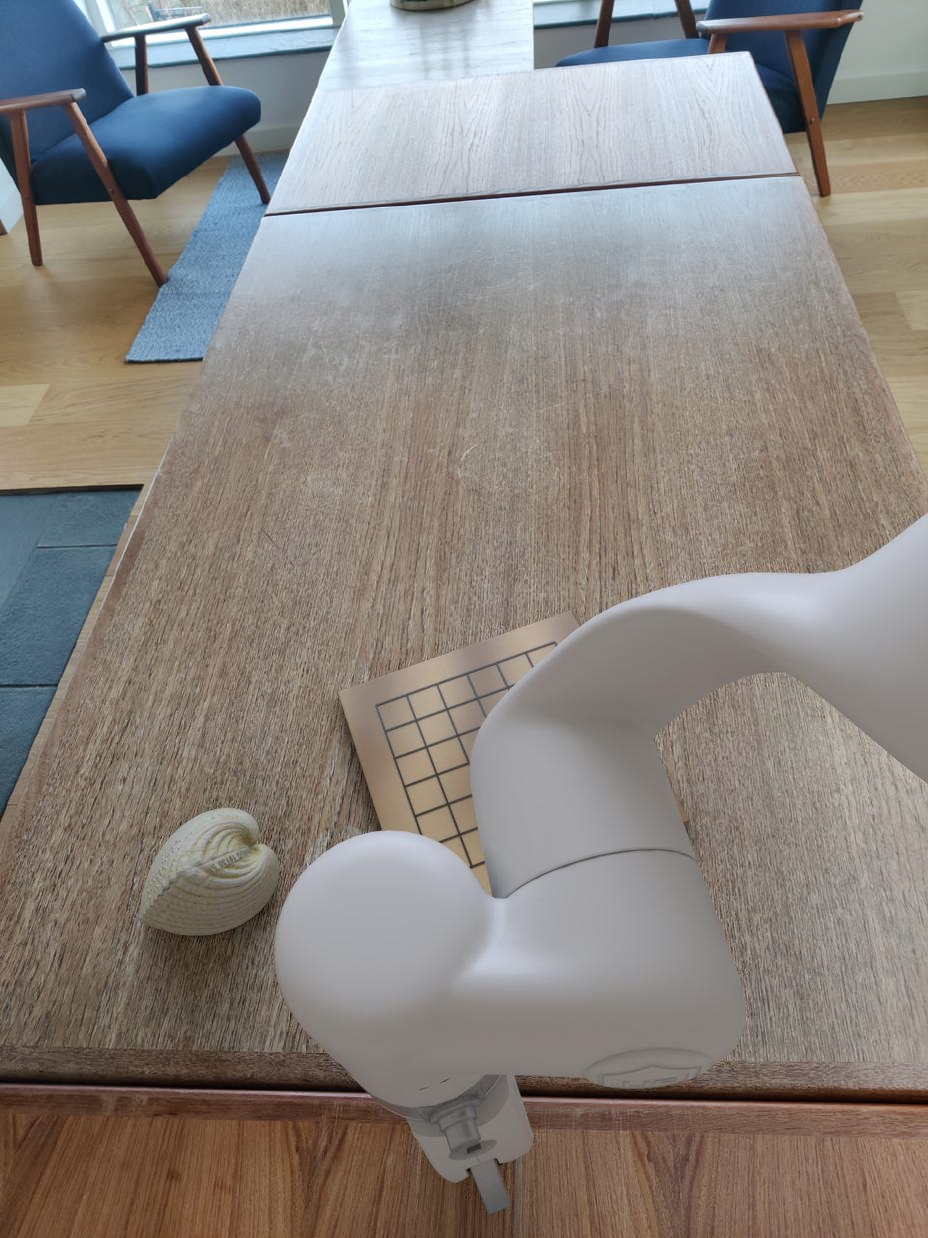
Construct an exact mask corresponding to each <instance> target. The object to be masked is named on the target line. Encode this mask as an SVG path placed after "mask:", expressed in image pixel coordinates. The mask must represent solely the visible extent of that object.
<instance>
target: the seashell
mask: <svg viewBox="0 0 928 1238" xmlns="http://www.w3.org/2000/svg"><path fill="white" fill-rule="evenodd" d="M259 834H260V827H259V823H258V822H257V820H256V819H255V817H254V816H252V815H251V814H250V813H249V812H247V811H245V810H242V809H240V808H235V807H221V808H220V807H219V808H215V809H211V810H208V811H205V812H202V813H200V814H198V815H196V816H194V817H193V818H191V819H189V820H188V821H185V822H184V823H183V824H182V825H181V826H180V827H178V828H177V829H176V830H175V831H174V832H173V834H171V836H169V838H167V840H166V841H165V843H164V844H163V846H162V847H161V849H159V851H158V853H157V855H156V856H155V858H154V860H153V862H152V864H151V865H150V868H149V870H148V874H147V876H146V879H145V882H144V885H143V890H142V893H141V898H140V907H139V908H140V909H139V912H138V913H139V914H138V920H139V922H140V924H143V925H145V926H148V927H151V928H154V929H156V930H162V931H165V932H168V933H171V934H175V935H181V936H198V937H199V936H201V937H202V936H213V935H216V934H217V935H218V934H221V933H223V932H227V931H230V930H232V929H235V928H238V927H239V926H241V925H243V924H245V923H246V922H248V921H250V920H251V919H252V918H254V917H255V916H256V915H258V914H259V913H260V912H261V911H262V910H263V908H264V907H265V906H266V905H267V904H268V902H269V901H270V900H271V898H272V896H273V895H274V893H275V890H276V889H277V886H278V882H279V879H280V878H279V877H280V862H279V858H278V856H277V854H276V852H275V851H274V850H273V849H272V848H271V846H269V845H267V844H265V843H256V841H257V839H258V837H259Z"/></svg>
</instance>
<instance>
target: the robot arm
mask: <svg viewBox="0 0 928 1238" xmlns="http://www.w3.org/2000/svg"><path fill="white" fill-rule="evenodd" d="M767 673H787V674H788V675H789V676H791V677H793V678H794V679H796V680H798V681H799V682H800V683H801V684H803V685H804V686H805V687H807V688H808V689H810V690H811V691H813V692H814V693H815V694H816V695H818V696H819V697H820V698H822V699H823V700H824V701H826V703H828V704H830V706H832V707H833V708H834V709H835V710H836V711H838V712H839V713H840V714H841V715H842V716H844V718H845V719H847V720H848V721H849V722H851V724H853V725H854V726H856V727H857V729H859V730H860V731H861V732H863V733H864V734H865V735H867V736H868V737H869V738H870V739H871V740H872V741H873V742H875V743H876V744H877V745H878V746H880V747H881V748H882V749H883V750H884V751H886V752H887V753H888V754H889V755H890V756H891V757H892V758H894V759H895V760H896V761H897V762H898V763H900V764H901V765H902V766H904V767H905V768H907V770H909V771H910V772H911V773H913V774H914V775H915V776H917V777H918V778H919V779H921V780H922V781H923V782H924V783H925V784H927V785H928V512H926V513H925V514H924V515H922V516H921V517H920V518H918V519H917V520H916V521H915V522H913V523H912V524H911V525H909V526H908V527H907V528H906V529H904V530H903V531H902V532H900V533H899V534H898V535H896V536H895V537H894V538H893V539H891V540H890V541H889V542H888V543H886V544H885V545H883V546H882V547H881V548H879V549H878V550H876V551H875V552H873V553H872V554H870V555H868V556H866V557H865V558H864V559H862V560H859V561H858V562H857V563H855V564H852V565H850V566H848V567H845V568H841V569H838V570H835V571H825V572H814V573H811V572H810V573H803V572H764V571H763V572H760V571H759V572H758V571H757V572H755V571H754V572H752V571H751V572H740V573H729V574H720V575H714V576H708V577H704V578H699V579H695V580H690V581H686V582H682V583H678V584H675V585H671V586H667V587H662V588H660V589H657V590H653V591H651V592H647V593H645V594H642V595H639V596H637V597H634V598H630V599H627V600H625V601H622V602H620V603H618V604H616V605H613V606H611V607H609V608H608V609H606V610H604V611H601V612H600V613H598V614H596V615H594V616H593V617H591V618H590V619H589V620H587V621H586V622H584V623H583V624H582V625H580V627H579V628H578V629H576V630H575V631H574V632H572V633H571V634H570V635H569V636H568V637H567V638H565V639H564V640H563V641H562V642H561V643H560V644H559V645H558V646H556V647H555V648H554V649H553V650H552V651H551V652H550V653H549V654H548V655H546V656H545V657H544V658H543V659H542V660H541V661H540V662H539V663H538V664H536V665H535V666H534V667H533V668H532V669H531V670H530V671H529V672H528V673H527V674H525V675H524V676H523V677H522V678H521V679H520V680H519V681H518V682H517V683H516V684H515V685H514V686H513V687H512V688H511V689H510V690H509V691H508V692H507V693H506V694H505V695H504V697H503V698H502V699H501V700H500V701H499V702H498V703H497V705H496V706H495V707H494V708H493V709H492V711H491V712H490V713H489V714H488V716H487V717H486V719H485V720H484V722H483V724H482V726H481V727H480V729H479V732H478V734H477V736H476V739H475V741H474V744H473V747H472V751H471V756H470V769H469V770H470V785H471V791H472V797H473V803H474V809H475V815H476V820H477V826H478V831H479V836H480V841H481V846H482V850H483V855H484V860H485V864H486V869H487V874H488V879H489V883H490V888H491V893H492V896H490V895H488V894H487V893H486V892H485V890H484V889H483V887H482V886H481V884H480V882H479V880H478V879H477V877H476V876H475V874H474V873H473V871H472V870H471V869H470V868H469V867H468V866H467V865H466V863H465V862H464V861H463V860H462V859H461V858H460V857H459V856H458V855H456V854H455V853H454V852H453V851H451V850H450V849H448V848H447V847H445V846H444V845H442V844H441V843H439V842H437V841H435V840H432V839H430V838H428V837H426V836H422V835H418V834H414V833H410V832H405V831H392V830H387V831H382V830H377V831H376V830H375V831H370V832H366V833H363V834H359V835H358V834H357V835H355V836H352V837H350V838H347V839H345V840H343V841H341V842H339V843H337V844H335V845H334V846H332V847H331V848H329V849H327V850H326V851H325V852H323V853H322V854H321V855H319V856H318V857H317V858H316V859H315V860H313V862H312V863H310V864H309V865H308V866H307V867H306V868H305V869H304V871H303V872H302V873H301V874H300V875H299V877H298V878H297V880H296V881H295V883H294V884H293V886H292V887H291V889H290V891H289V893H288V895H287V897H286V899H285V901H284V904H283V905H282V908H281V911H280V914H279V918H278V921H277V924H276V927H275V928H276V929H275V937H274V944H273V953H274V954H273V955H274V956H273V957H274V969H275V974H276V980H277V983H278V987H279V991H280V993H281V995H282V998H283V1000H284V1002H285V1004H286V1006H287V1008H288V1011H290V1013H291V1014H292V1016H293V1018H294V1019H295V1021H296V1022H297V1023H298V1024H299V1025H300V1027H301V1028H302V1029H303V1031H304V1032H305V1033H306V1034H307V1035H308V1036H309V1037H310V1038H311V1039H312V1040H313V1041H314V1042H315V1043H316V1044H317V1045H318V1046H319V1047H320V1048H321V1049H322V1050H323V1051H324V1052H326V1053H327V1054H328V1056H330V1057H331V1058H332V1059H333V1060H334V1062H335V1063H337V1064H338V1065H339V1066H340V1067H341V1068H342V1069H343V1070H344V1071H345V1072H346V1073H347V1074H348V1075H349V1076H350V1077H351V1078H352V1079H353V1080H354V1081H355V1082H357V1084H358V1085H359V1086H360V1087H361V1088H362V1089H363V1090H364V1091H365V1093H367V1094H368V1095H369V1096H370V1097H371V1098H372V1099H373V1100H374V1101H376V1103H378V1104H379V1105H380V1106H382V1107H383V1108H384V1109H386V1110H387V1111H389V1112H391V1113H393V1114H395V1115H397V1116H400V1117H402V1118H405V1120H406V1122H407V1123H408V1125H409V1128H410V1129H411V1133H412V1136H413V1137H414V1139H416V1141H417V1142H418V1144H419V1145H420V1148H421V1149H422V1151H423V1153H424V1155H425V1156H426V1158H427V1159H428V1161H429V1163H430V1164H431V1166H432V1167H433V1169H434V1170H435V1171H436V1172H437V1174H438V1175H439V1176H441V1178H443V1179H445V1180H446V1181H449V1182H451V1183H459V1182H463V1181H464V1180H465V1179H467V1178H468V1177H469V1176H470V1175H471V1176H472V1177H473V1180H474V1182H475V1184H476V1185H475V1186H476V1187H477V1190H478V1192H479V1194H480V1197H481V1199H482V1203H483V1205H484V1208H485V1210H486V1212H487V1215H488V1216H491V1215H494V1214H495V1213H497V1212H500V1211H502V1210H505V1209H507V1208H509V1207H511V1206H512V1203H511V1198H510V1195H509V1193H508V1190H507V1187H506V1183H505V1180H504V1177H503V1174H502V1171H501V1168H500V1166H503V1165H504V1164H507V1163H510V1162H513V1161H514V1160H517V1159H519V1158H520V1157H523V1156H524V1155H525V1154H527V1153H529V1152H530V1151H531V1149H532V1146H533V1143H534V1134H533V1133H534V1132H533V1129H532V1127H531V1123H530V1120H529V1117H528V1113H527V1111H526V1108H525V1105H524V1102H523V1099H522V1096H521V1093H520V1090H519V1087H518V1084H517V1080H516V1076H531V1077H552V1078H573V1079H574V1078H575V1079H587V1081H589V1082H591V1083H593V1084H595V1085H597V1086H601V1087H606V1088H613V1089H623V1090H635V1089H638V1090H639V1089H640V1090H643V1089H652V1088H661V1087H662V1088H663V1087H668V1086H673V1085H676V1084H681V1083H685V1082H688V1081H690V1080H693V1079H694V1078H697V1077H699V1076H701V1075H702V1074H704V1073H706V1072H707V1071H708V1070H709V1069H710V1068H711V1067H712V1066H713V1065H716V1064H718V1063H719V1062H722V1061H723V1060H724V1059H725V1058H727V1057H728V1056H729V1055H730V1054H731V1053H732V1052H733V1051H735V1049H736V1048H737V1047H738V1045H739V1044H740V1042H741V1039H742V1037H743V1035H744V1032H745V1029H746V1023H747V1005H746V998H745V993H744V990H743V989H744V988H743V986H742V982H741V978H740V975H739V970H738V968H737V965H736V963H735V959H734V957H733V954H732V951H731V949H730V946H729V943H728V941H727V938H726V935H725V932H724V929H723V927H722V924H721V921H720V918H719V916H718V913H717V911H716V908H715V905H714V902H713V899H712V897H711V894H710V891H709V888H708V885H707V883H706V881H705V877H704V875H703V873H702V869H701V867H700V865H699V861H698V859H697V857H696V853H695V851H694V847H693V845H692V841H691V839H690V836H689V834H688V832H687V830H686V829H685V826H684V823H683V820H682V818H681V815H680V812H679V810H678V807H677V804H676V801H675V798H674V795H673V792H672V790H673V788H672V787H670V786H671V784H670V781H669V778H668V775H667V772H666V769H665V765H664V763H663V760H662V757H661V755H660V752H659V750H658V747H657V745H656V742H655V738H656V737H657V736H658V735H659V733H660V732H661V731H662V730H663V729H664V728H665V727H666V726H668V725H669V724H670V723H672V721H674V720H675V719H676V718H678V717H679V716H680V715H681V714H682V713H684V712H685V711H686V710H688V709H690V708H691V707H692V706H694V705H695V704H697V703H698V702H699V701H701V700H702V699H704V698H706V697H707V696H708V695H710V694H711V693H713V692H715V691H717V690H719V689H720V688H723V687H724V686H726V685H728V684H731V683H734V682H737V681H739V680H742V679H744V678H747V677H751V676H756V675H760V674H767ZM671 788H672V789H671ZM469 1174H470V1175H469Z"/></svg>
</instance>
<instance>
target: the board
mask: <svg viewBox="0 0 928 1238" xmlns="http://www.w3.org/2000/svg"><path fill="white" fill-rule="evenodd" d="M580 626H581V625H580V624H579V622H578V620H577V618H576V617H575V615H574V613H573V611H572V610H571V609H570V610H567V611H563V612H561V613H558V614H556V615H555V614H554V615H552V616H550V617H546V618H544V619H541V620H538V621H536V622H533V623H530V624H527V625H523V626H521V627H518V628H516V629H513V630H510V631H507V632H504V633H501V634H499V635H494V636H492V637H489V638H487V639H484V640H481V641H478V642H475V643H472V644H470V645H467V646H464V647H462V648H458V649H456V650H452V651H450V652H447V653H444V654H442V655H439V656H435V657H432V658H429V659H427V660H424V661H421V662H419V663H418V662H417V663H416V664H413V665H410V666H406V667H405V668H404V667H403V668H401V669H398V670H396V671H393V672H390V673H388V674H384V675H382V676H378V677H376V678H373V679H369V680H367V681H365V682H361V683H358V684H356V685H353V686H350V687H347V688H344V689H341V690H339V691H337V695H338V698H339V701H340V704H341V707H342V711H343V714H344V718H345V720H346V723H347V726H348V729H349V732H350V735H351V739H352V742H353V744H354V748H355V751H356V754H357V757H358V760H359V763H360V768H361V770H362V772H363V776H364V779H365V782H366V785H367V788H368V792H369V794H370V797H371V798H370V799H371V801H372V804H373V807H374V810H375V813H376V816H377V820H378V822H379V826H380V829H381V831H387V830H392V831H405V832H410V833H414V834H418V835H422V836H426V837H428V838H430V839H432V840H435V841H437V842H439V843H441V844H442V845H444V846H445V847H447V848H448V849H450V850H451V851H453V852H454V853H455V854H456V855H458V856H459V857H460V858H461V859H462V860H463V861H464V862H465V863H466V865H467V866H468V867H469V868H470V869H471V870H472V871H473V873H474V874H475V876H476V877H477V879H478V880H479V882H480V884H481V886H482V887H483V889H484V890H485V892H486V893H487V894H488V895H490V896H492V893H491V888H490V883H489V879H488V874H487V869H486V864H485V860H484V855H483V850H482V846H481V841H480V836H479V831H478V826H477V820H476V815H475V809H474V803H473V797H472V791H471V785H470V770H469V769H470V756H471V751H472V747H473V744H474V741H475V739H476V736H477V734H478V732H479V729H480V727H481V726H482V724H483V722H484V720H485V719H486V717H487V716H488V714H489V713H490V712H491V711H492V709H493V708H494V707H495V706H496V705H497V703H498V702H499V701H500V700H501V699H502V698H503V697H504V695H505V694H506V693H507V692H508V691H509V690H510V689H511V688H512V687H513V686H514V685H515V684H516V683H517V682H518V681H519V680H520V679H521V678H522V677H523V676H524V675H525V674H527V673H528V672H529V671H530V670H531V669H532V668H533V667H534V666H535V665H536V664H538V663H539V662H540V661H541V660H542V659H543V658H544V657H545V656H546V655H548V654H549V653H550V652H551V651H552V650H553V649H554V648H555V647H556V646H558V645H559V644H560V643H561V642H562V641H563V640H564V639H565V638H567V637H568V636H569V635H570V634H571V633H572V632H574V631H575V630H576V629H578V628H579V627H580ZM670 787H671V785H670ZM671 789H672V792H673V795H674V798H675V801H676V804H677V807H678V810H679V812H680V815H681V818H682V820H683V823H684V826H685V829H686V831H687V830H689V825H690V818H689V816H688V814H687V812H686V810H685V809H684V807H683V806H682V803H681V802H680V800H679V799H678V796H677V795H676V793H675V792H674V790H673V787H671Z"/></svg>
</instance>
